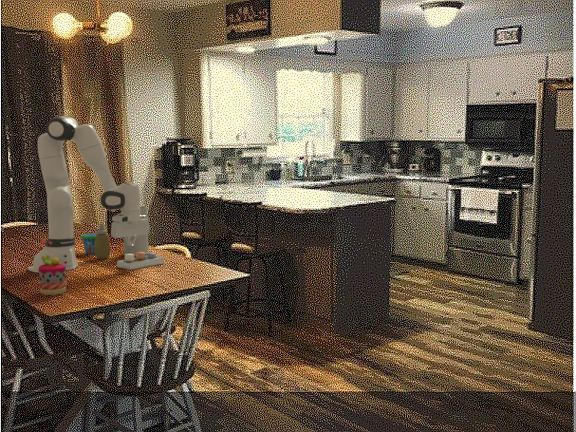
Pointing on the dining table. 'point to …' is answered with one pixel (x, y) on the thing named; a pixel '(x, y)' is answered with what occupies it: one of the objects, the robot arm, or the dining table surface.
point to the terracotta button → (140, 255)
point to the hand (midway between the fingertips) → (131, 245)
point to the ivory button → (129, 257)
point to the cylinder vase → (138, 240)
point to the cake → (52, 277)
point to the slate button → (151, 255)
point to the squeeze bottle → (102, 243)
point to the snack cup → (89, 242)
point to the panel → (140, 263)
